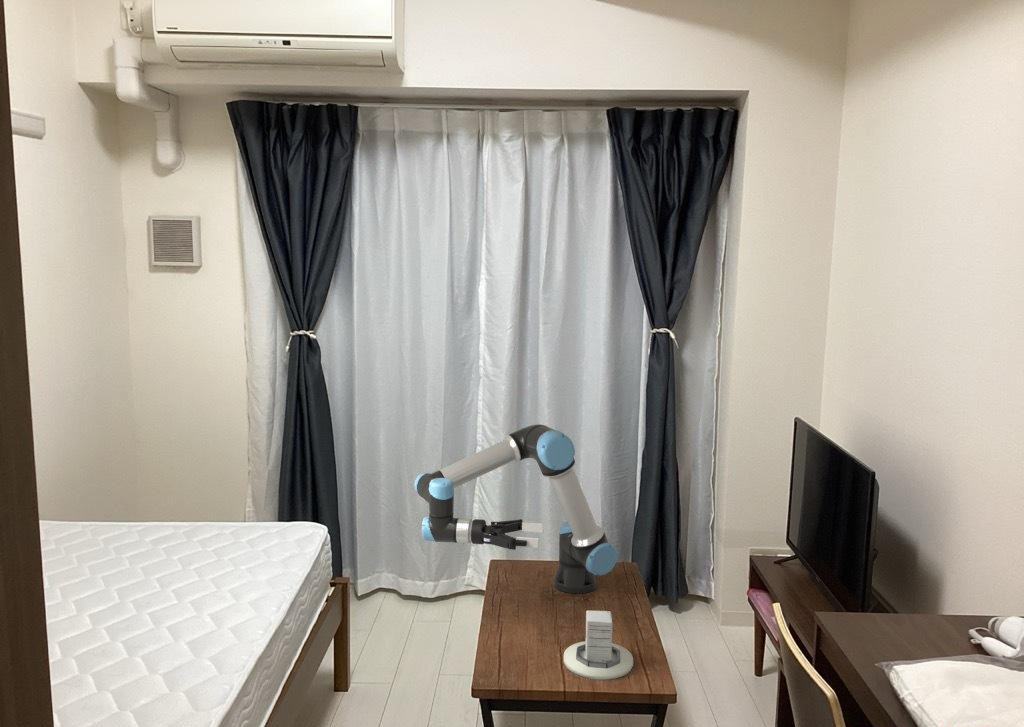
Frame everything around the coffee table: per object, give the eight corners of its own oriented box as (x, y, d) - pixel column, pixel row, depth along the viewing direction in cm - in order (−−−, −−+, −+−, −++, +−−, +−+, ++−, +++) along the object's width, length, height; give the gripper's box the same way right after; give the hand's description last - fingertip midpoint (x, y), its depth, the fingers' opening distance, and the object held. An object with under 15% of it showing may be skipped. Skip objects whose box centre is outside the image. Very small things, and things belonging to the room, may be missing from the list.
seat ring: (577, 645, 238) (577, 641, 238) (620, 648, 236) (620, 644, 236) (575, 666, 226) (575, 662, 225) (620, 669, 224) (620, 665, 224)
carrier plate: (566, 642, 242) (566, 638, 242) (632, 648, 240) (632, 643, 239) (561, 676, 223) (561, 671, 222) (633, 682, 220) (633, 677, 220)
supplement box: (584, 650, 235) (586, 609, 233) (610, 651, 234) (611, 610, 233) (585, 663, 227) (586, 620, 226) (611, 664, 227) (613, 622, 225)
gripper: (479, 529, 259) (544, 533, 256) (464, 557, 234) (536, 562, 232) (479, 507, 258) (544, 510, 255) (464, 533, 233) (536, 537, 231)
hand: (540, 535), depth 243 cm, fingers open, 13 cm apart
